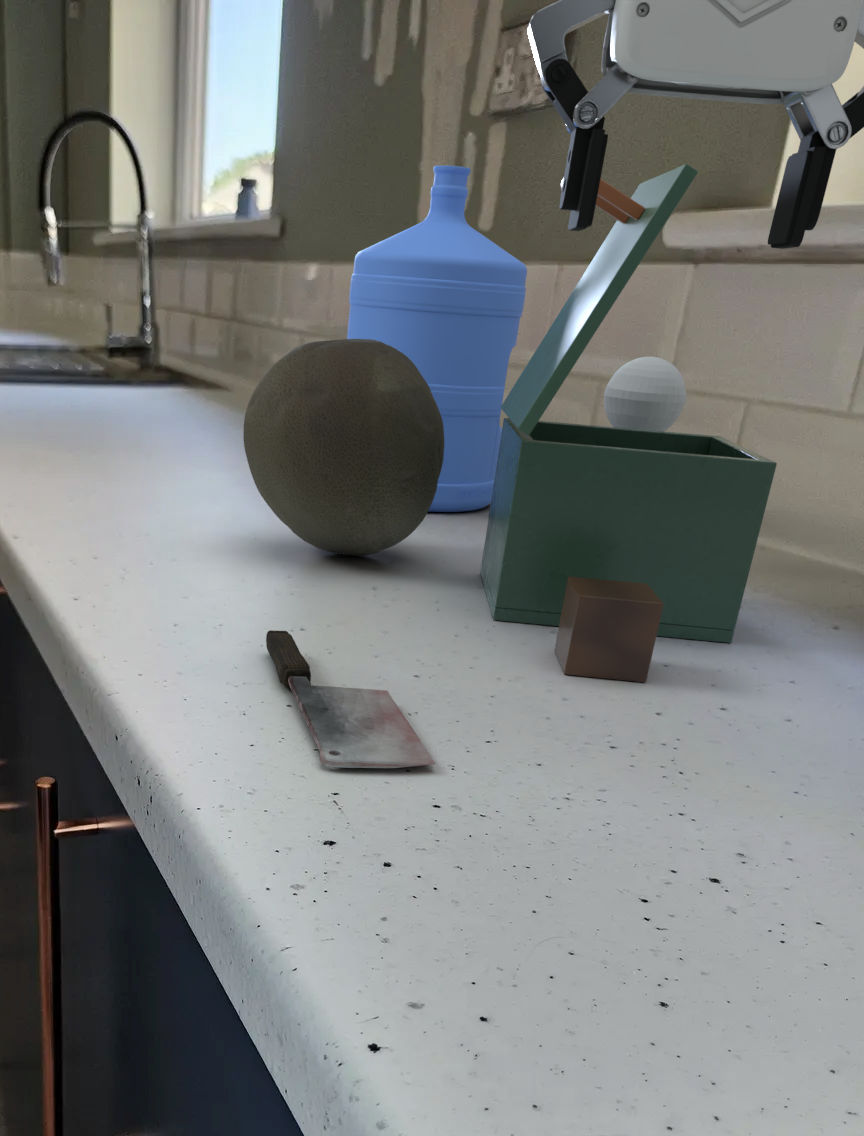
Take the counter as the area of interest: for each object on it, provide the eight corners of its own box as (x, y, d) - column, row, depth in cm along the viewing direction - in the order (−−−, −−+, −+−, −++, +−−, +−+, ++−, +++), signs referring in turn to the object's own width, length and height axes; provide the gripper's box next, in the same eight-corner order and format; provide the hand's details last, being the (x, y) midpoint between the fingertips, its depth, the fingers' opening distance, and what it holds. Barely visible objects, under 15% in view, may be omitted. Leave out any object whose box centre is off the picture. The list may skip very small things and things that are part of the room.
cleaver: (439, 754, 47) (322, 752, 46) (435, 777, 47) (319, 776, 47) (354, 629, 61) (263, 627, 60) (351, 648, 62) (261, 646, 61)
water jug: (421, 520, 99) (468, 155, 87) (297, 488, 109) (324, 158, 97) (525, 506, 109) (580, 177, 97) (403, 479, 119) (439, 177, 107)
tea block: (631, 658, 65) (647, 583, 63) (646, 683, 61) (664, 603, 59) (554, 651, 65) (567, 575, 63) (563, 674, 61) (579, 595, 59)
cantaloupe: (345, 528, 93) (365, 332, 86) (469, 568, 83) (501, 350, 76) (203, 541, 85) (213, 326, 79) (320, 586, 75) (342, 344, 69)
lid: (650, 190, 71) (578, 142, 70) (699, 171, 59) (613, 114, 58) (509, 414, 77) (442, 372, 76) (528, 436, 65) (450, 387, 65)
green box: (684, 592, 81) (721, 436, 76) (731, 643, 69) (777, 462, 65) (480, 573, 82) (503, 417, 77) (493, 620, 70) (521, 440, 66)
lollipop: (604, 545, 94) (642, 353, 88) (665, 560, 90) (710, 361, 84) (559, 551, 91) (595, 352, 84) (621, 567, 87) (664, 360, 80)
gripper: (581, -275, 44) (505, 218, 51) (1041, -249, 43) (897, 252, 50) (556, -199, 51) (493, 226, 58) (953, -175, 49) (837, 256, 57)
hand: (680, 238), depth 54 cm, fingers open, 9 cm apart
